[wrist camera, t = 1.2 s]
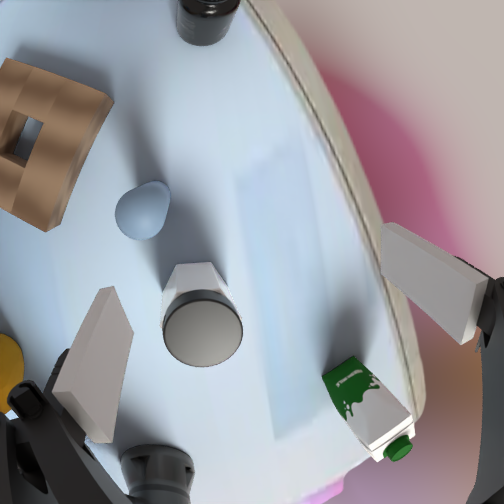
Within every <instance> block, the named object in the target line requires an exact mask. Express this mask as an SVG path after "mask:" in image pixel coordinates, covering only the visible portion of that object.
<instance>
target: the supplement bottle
mask: <svg viewBox="0 0 504 504" xmlns="http://www.w3.org/2000/svg"><path fill="white" fill-rule="evenodd" d="M240 1H241V0H178V9H177V31H178V34H179V35H180V37H181V38H182V39H183V40H184V41H186V42H187V43H189V44H192V45H196V46H208V45H212V44H215V43H217V42H219V41H220V40H221V39H223V37H224V36H225V35H226V33H227V31H228V29H229V27H230V25H231V23H232V20H233V18H234V16H235V14H236V11H237V9H238V7H239V4H240Z"/></svg>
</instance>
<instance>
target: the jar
mask: <svg viewBox="0 0 504 504" xmlns="http://www.w3.org/2000/svg"><path fill="white" fill-rule="evenodd" d="M241 320H242V317H241V315H240V313H239V311H238V308H237V306H236V304H235V302H234V299H233V297H232V295H231V293H230V290H229V288H228V286H227V285H226V283H225V282H224V280H223V279H222V278H221V276H220V275H219V273H218V272H217V270H216V269H215V267H214V266H213V264H212V263H211V262H201V263H186V264H177V265H176V266H175V268H174V270H173V272H172V274H171V276H170V278H169V280H168V282H167V284H166V286H165V288H164V290H163V293H162V303H161V315H160V327H161V328H162V331H163V339H164V343H165V345H166V347H167V349H168V351H169V352H170V353H171V355H172V356H173V357H175V358H176V359H177V360H179V361H180V362H182V363H184V364H187V365H190V366H195V367H209V366H214V365H217V364H220V363H222V362H224V361H225V360H227V359H228V358H230V357H231V356H232V355H233V354H234V353H235V352H236V350H237V349H238V347H239V346H240V343H241V341H242V337H243V326H242V322H241Z"/></svg>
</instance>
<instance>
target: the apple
mask: <svg viewBox="0 0 504 504" xmlns="http://www.w3.org/2000/svg"><path fill="white" fill-rule="evenodd" d="M23 376H24V360H23V355H22V351H21V349H20V347H19V346H18V344H17V343H16V342H15V341H14V340H13V339H12V338H10V337H9V336H7V335H5V334H1V333H0V412H3V413H4V414H6V413H7V412H9V411H10V410H11V408H10V406H9V405H8V404H7V397H8V394H9V392H10V391H11V390H12V388H13V387H14V386H16V385H17V384H18V383H20V382H22V381H23Z"/></svg>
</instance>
